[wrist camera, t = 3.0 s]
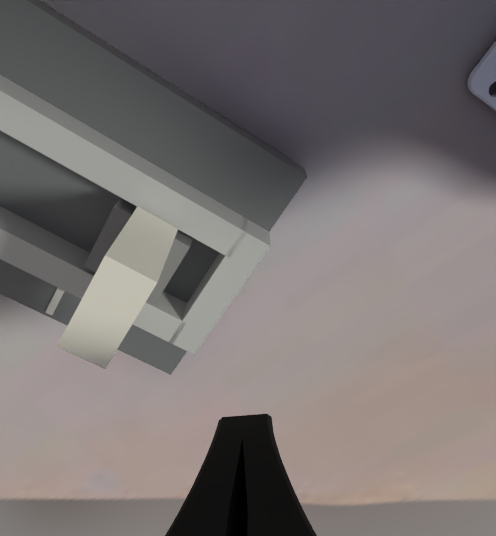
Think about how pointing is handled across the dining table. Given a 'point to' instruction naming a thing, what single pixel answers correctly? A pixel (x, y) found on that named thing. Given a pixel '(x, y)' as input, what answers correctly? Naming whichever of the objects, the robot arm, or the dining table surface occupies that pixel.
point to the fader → (122, 280)
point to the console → (123, 180)
